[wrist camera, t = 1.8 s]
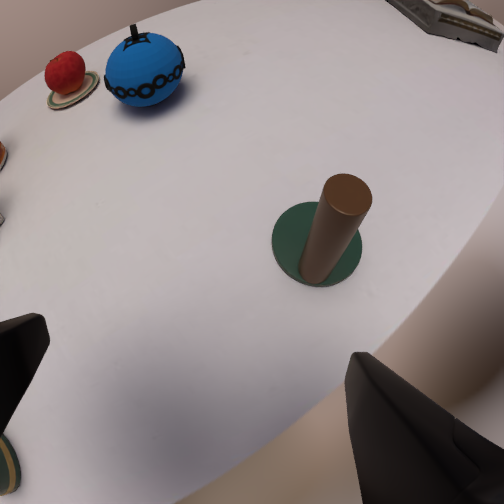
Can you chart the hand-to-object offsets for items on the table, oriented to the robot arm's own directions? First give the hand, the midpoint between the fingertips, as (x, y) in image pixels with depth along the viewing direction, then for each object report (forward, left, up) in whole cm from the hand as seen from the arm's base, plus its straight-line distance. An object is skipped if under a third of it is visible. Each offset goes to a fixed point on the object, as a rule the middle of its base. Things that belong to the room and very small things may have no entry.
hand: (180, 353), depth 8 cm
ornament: (+24, -17, -14) cm, 33 cm away
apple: (+37, -13, -14) cm, 42 cm away
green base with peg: (0, -12, -14) cm, 18 cm away
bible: (+4, -81, -14) cm, 82 cm away
